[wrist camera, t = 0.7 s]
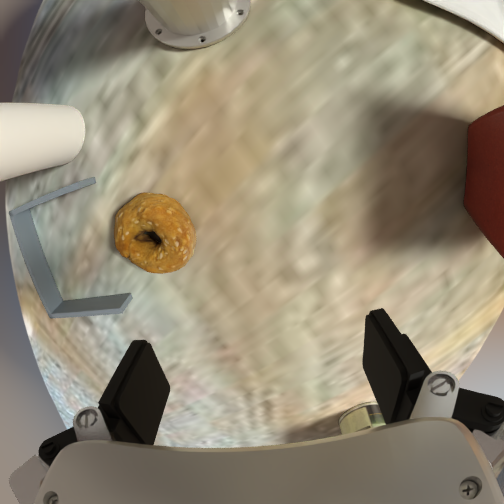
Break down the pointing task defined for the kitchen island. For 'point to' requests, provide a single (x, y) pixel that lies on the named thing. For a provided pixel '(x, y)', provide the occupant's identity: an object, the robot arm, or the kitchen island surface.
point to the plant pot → (487, 176)
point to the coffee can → (361, 418)
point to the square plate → (477, 13)
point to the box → (42, 272)
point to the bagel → (163, 224)
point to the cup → (38, 137)
